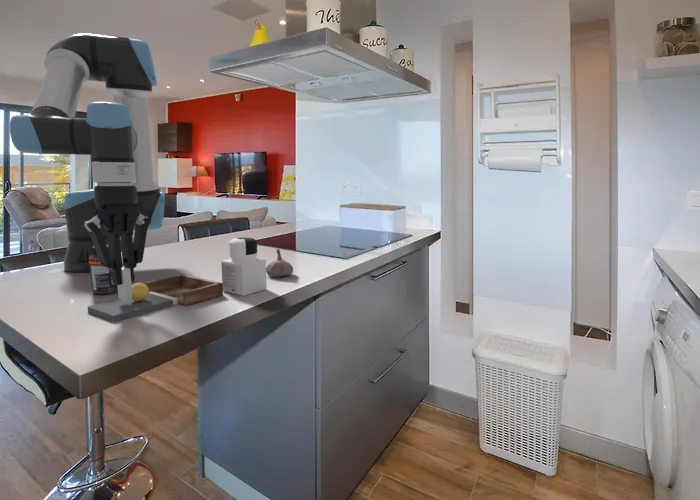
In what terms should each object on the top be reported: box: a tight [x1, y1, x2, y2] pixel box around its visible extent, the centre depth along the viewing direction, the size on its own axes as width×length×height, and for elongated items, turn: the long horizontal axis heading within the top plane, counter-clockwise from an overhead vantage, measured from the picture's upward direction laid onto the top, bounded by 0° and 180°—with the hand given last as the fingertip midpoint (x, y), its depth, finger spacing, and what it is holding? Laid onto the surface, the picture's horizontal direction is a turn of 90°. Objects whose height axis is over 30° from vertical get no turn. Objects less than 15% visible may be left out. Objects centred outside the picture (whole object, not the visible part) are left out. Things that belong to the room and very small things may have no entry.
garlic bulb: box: [266, 248, 294, 279], centre depth 119 cm, size 8×7×8 cm
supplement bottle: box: [89, 245, 118, 296], centre depth 101 cm, size 6×6×11 cm
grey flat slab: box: [87, 291, 179, 323], centre depth 90 cm, size 10×14×1 cm
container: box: [221, 237, 268, 297], centre depth 103 cm, size 8×8×13 cm
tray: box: [144, 273, 224, 307], centre depth 100 cm, size 15×10×3 cm, turn 57°
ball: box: [131, 282, 149, 301], centre depth 91 cm, size 4×4×4 cm
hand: (125, 298), depth 88 cm, fingers closed
